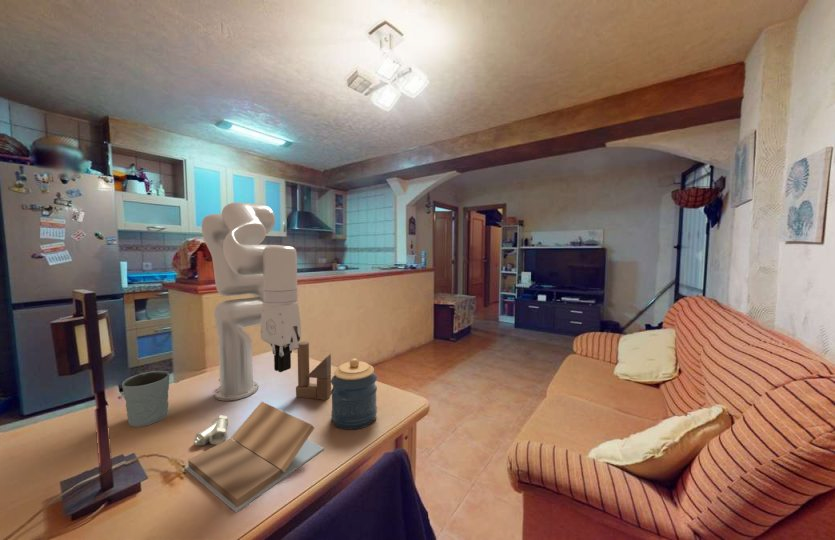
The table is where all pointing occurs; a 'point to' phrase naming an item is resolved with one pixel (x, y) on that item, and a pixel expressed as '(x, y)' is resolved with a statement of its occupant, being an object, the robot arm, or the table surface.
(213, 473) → the floor board
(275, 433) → the plank
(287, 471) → the underlay mat
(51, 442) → the table surface
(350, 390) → the canister
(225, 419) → the pipe fitting
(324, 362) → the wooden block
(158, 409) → the grey pot
